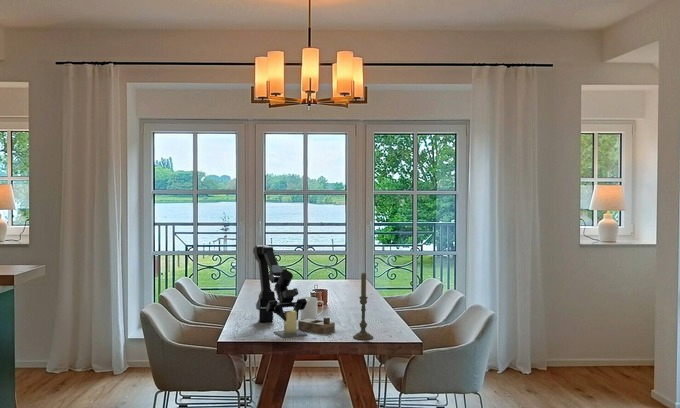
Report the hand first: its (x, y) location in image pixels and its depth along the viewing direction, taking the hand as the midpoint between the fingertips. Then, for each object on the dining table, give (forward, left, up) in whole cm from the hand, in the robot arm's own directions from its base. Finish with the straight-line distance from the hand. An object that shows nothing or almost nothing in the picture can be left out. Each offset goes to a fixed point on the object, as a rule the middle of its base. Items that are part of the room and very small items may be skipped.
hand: (291, 320), depth 282 cm
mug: (+15, +33, -7) cm, 37 cm away
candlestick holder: (+31, -12, -7) cm, 34 cm away
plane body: (+13, +8, -7) cm, 17 cm away
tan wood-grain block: (0, +1, -6) cm, 6 cm away
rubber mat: (0, +1, -7) cm, 7 cm away
